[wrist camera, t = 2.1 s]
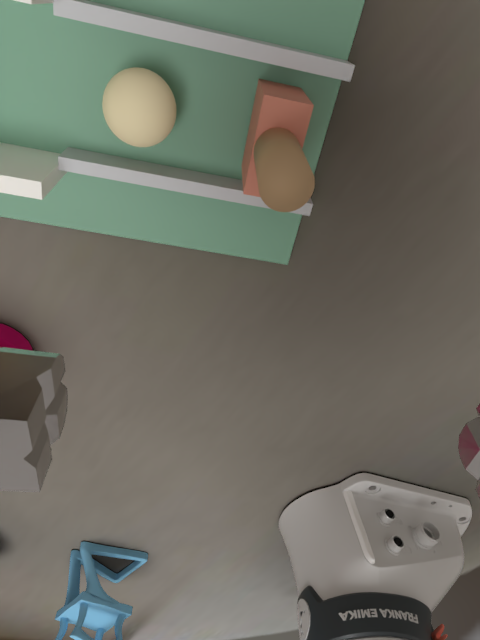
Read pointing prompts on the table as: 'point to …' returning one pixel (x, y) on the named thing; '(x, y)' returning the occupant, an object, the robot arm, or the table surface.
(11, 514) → the table surface
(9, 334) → the pepper mill
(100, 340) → the table surface
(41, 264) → the table surface
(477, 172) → the table surface
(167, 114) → the ball
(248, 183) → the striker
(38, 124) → the pitch
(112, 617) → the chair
